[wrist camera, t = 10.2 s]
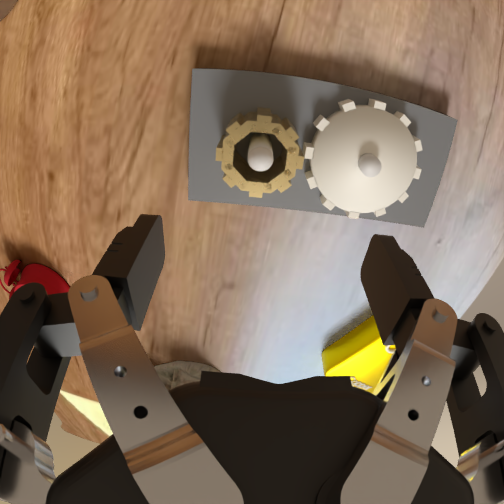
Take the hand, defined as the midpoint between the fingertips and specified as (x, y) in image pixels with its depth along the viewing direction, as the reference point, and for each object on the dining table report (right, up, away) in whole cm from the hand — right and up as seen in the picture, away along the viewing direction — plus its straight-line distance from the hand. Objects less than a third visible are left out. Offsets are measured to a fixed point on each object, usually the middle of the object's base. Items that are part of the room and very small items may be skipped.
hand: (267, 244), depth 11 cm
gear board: (+6, +9, +15) cm, 19 cm away
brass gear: (0, +9, +13) cm, 16 cm away
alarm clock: (-33, -5, +27) cm, 43 cm away
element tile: (+20, -15, +32) cm, 41 cm away
